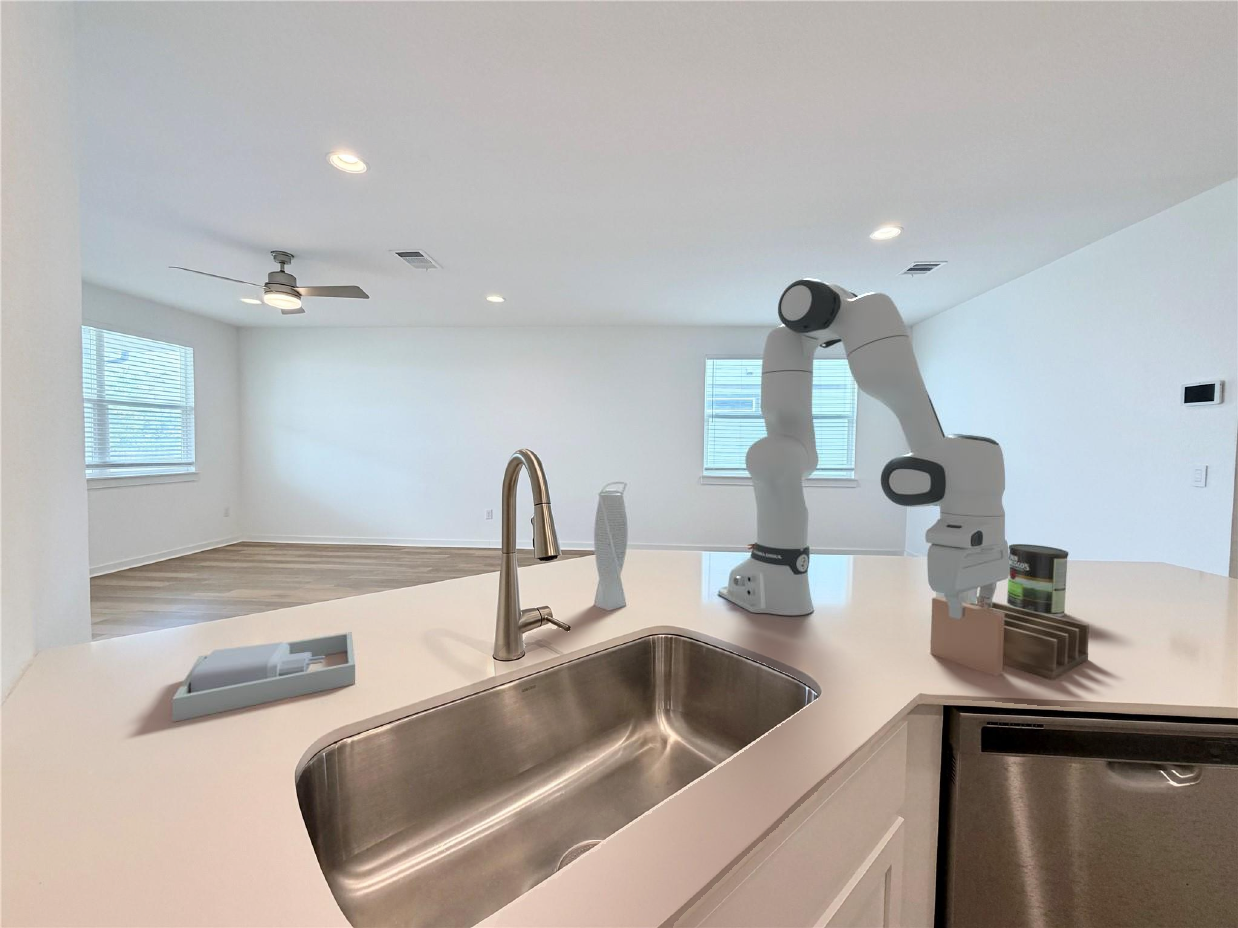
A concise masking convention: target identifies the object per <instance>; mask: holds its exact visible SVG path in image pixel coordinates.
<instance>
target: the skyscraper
mask: <svg viewBox="0 0 1238 928" xmlns="http://www.w3.org/2000/svg"><path fill="white" fill-rule="evenodd" d="M614 485H623V487H622V490H621V491H619V490H618V489H616V488H615V489H613V488H608V487H610V486H614ZM626 487H627V483H626V482H625V481H624V482H623V481H614V482H610V483H607V484H605V486H603V488H602V489H601V491H600V492H599V493H598V502H597V506H596V507H597V508H596V514H595V520H594V527H593V528H594V529H593V543H594V544H593V546H594V555H595V562H596V563H595V566H596V570H597V574H598V575H597V576H598V583H597V587H596V593H595V597H594V602H593V606H595V607H598V608H601V609H603V610H606V611H612V610H616V609H619V608H623V607H627V606H628V605H627V604H628V603H627V601H626V596H625V592H624V588H623V582H622V577H621V575H622V571H623V568H624V565H625V558H626V555H627V554H626V553H627V547H628V533H629V532H628V528H629V527H628V518H627V511H626V505H625V500H624V493H625V490H626Z"/></svg>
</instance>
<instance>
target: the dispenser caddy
mask: <svg viewBox="0 0 1238 928" xmlns="http://www.w3.org/2000/svg"><path fill="white" fill-rule="evenodd" d="M352 632H353V631H350V632H349V631H347V632H343V633H336V634H330V635H324V636H317V637H310V638H305V639H298V640H297V639H296V640H293V641H286V642H284V643H286V644H288V645H289V646H290V654H297V653H305V652H311V654H312V657H318V656H328V655H334V654H338V653H345V652H346V659H347V663H343V664H338V665H334V666H333V665H331V666H328V667H322V668H318V669H313V670H311V669H310V670H307V671H305V672H300V673H295V674H290V675H284V676H279V677H274V678H268V679H263V680H258V681H252V682H247V683H242V684H237V685H231V686H226V687H221V688H215V689H210V690H205V691H200V692H194V693H191V676H192V673H193V671H194V670H195V669H196V667H197V666H198V665H199V664H200V663H201V662H202V661H204V660H205V659H206V658H207V657H208V656H209V655H210V654H205V655H199V656H198V658H197V659H196V660H195V662H194V663H193V665H192V667H191V669H190V670H189V672H188V673H187V675H186V676H185V679H184V680H183V682H182V683H181V684H180V686H179V688H178V690H177V691H176V693H175V694H174V696H173V698H172V700H171V701H172V722H173V723H175V722H179V721H185V720H190V719H193V718H194V719H195V718H198V717H203V716H209V715H214V714H218V713H222V712H228V711H231V710H236V709H241V708H246V707H251V706H255V705H260V704H266V703H270V702H271V703H272V702H275V701H281V700H285V699H290V698H294V697H299V696H304V695H309V694H313V693H318V692H324V691H328V690H333V689H337V688H342V687H348V686H352V685H356V660H355V652H354V651H355V650H354V649H355V648H354V642H353V641H354V640H353V633H352Z"/></svg>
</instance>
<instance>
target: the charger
mask: <svg viewBox="0 0 1238 928" xmlns="http://www.w3.org/2000/svg"><path fill="white" fill-rule="evenodd" d="M208 655H209V656H208V657H207V658H206V659H205V660H204V661H202V662H201V663H200V664H199V665H198V666H197V667H196V669H195V670H194V671H193V673H192V676H191V693H194V692H200V691H205V690H210V689H215V688H221V687H226V686H231V685H237V684H242V683H247V682H252V681H258V680H263V679H268V678H274V677H279V676H284V675H290V674H295V673H300V672H305V671H309V670H308V669H310V665H317V664H323V662H324V661H323V659H325V658H326V655H323V656H317V657H312V654H311V652H305V653H297V654H290V646H289V645H288V644H286V643H285V642H284V641H281V642H280V641H279V642H273V643H272V642H271V643H263V644H255V645H246V646H237V647H230V648H221V649H214V650H213V651H212V652H210V654H208Z"/></svg>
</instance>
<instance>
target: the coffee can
mask: <svg viewBox="0 0 1238 928" xmlns="http://www.w3.org/2000/svg"><path fill="white" fill-rule="evenodd" d="M1008 549H1009V563H1010V572H1009V576H1008V578H1007V597H1006V598H1007V599H1006V605H1009V606H1013V607H1017V608H1022V609H1026V610H1030V611H1034V612H1038V613H1043V614H1047V615H1051V616H1055V617H1059V618H1062V617H1064V616H1065V615H1066V613H1065V610H1066V592H1067V591H1066V589H1067V573H1068V572H1067V571H1068V570H1067V569H1068V557H1069V551H1067V550H1064V549H1062V548H1061V549H1060V548H1058V547H1057V548H1056V547H1051V546H1046V545H1036V544H1028V543H1027V544H1026V543H1024V544H1023V543H1022V544H1021V543H1017V544H1014V543H1013V544H1008Z"/></svg>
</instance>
